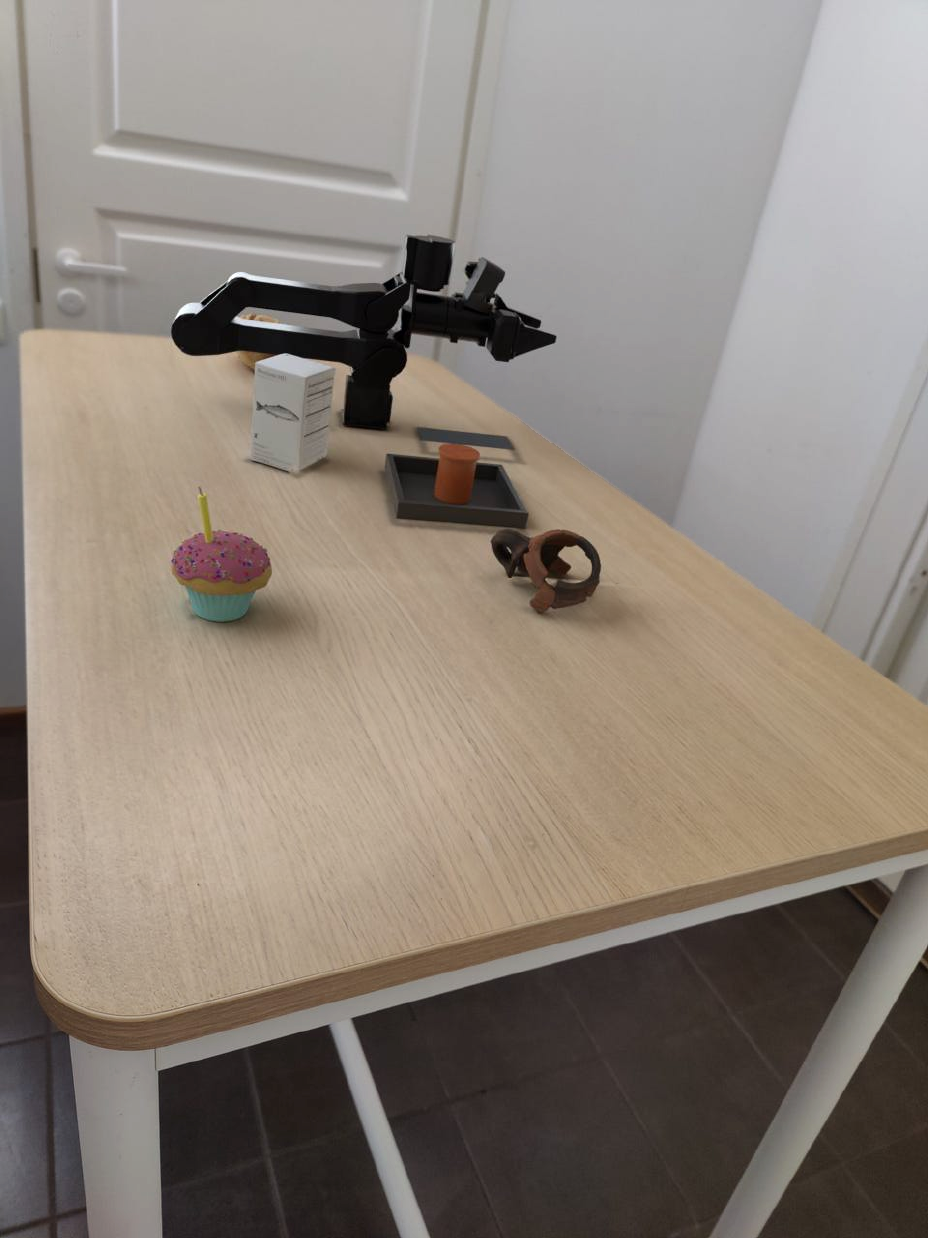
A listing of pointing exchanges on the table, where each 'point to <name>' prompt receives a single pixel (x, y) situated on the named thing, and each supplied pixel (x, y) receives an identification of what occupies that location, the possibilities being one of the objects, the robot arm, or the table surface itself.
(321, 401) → the white packaging box
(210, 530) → the cupcake
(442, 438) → the mat
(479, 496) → the tray
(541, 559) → the broken pottery
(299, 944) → the table surface
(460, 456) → the orange cylinder
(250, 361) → the bread roll
